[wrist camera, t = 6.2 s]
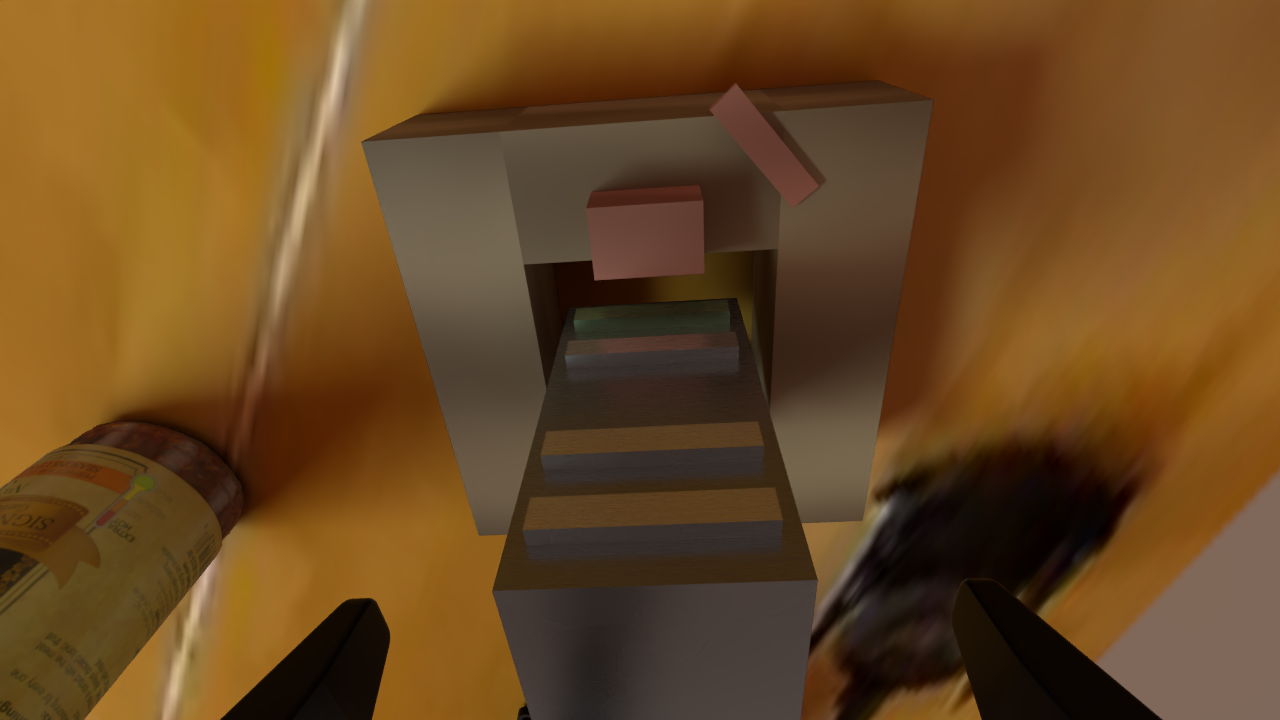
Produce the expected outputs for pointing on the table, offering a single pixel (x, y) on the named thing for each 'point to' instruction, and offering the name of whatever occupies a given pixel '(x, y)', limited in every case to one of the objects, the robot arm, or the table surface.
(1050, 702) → the robot arm
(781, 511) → the column
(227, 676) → the table surface
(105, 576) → the sauce bottle
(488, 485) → the stand base
